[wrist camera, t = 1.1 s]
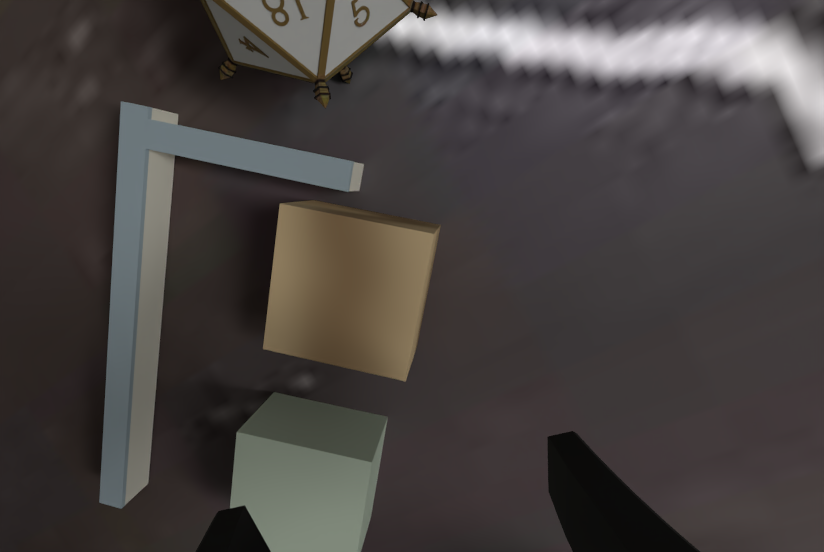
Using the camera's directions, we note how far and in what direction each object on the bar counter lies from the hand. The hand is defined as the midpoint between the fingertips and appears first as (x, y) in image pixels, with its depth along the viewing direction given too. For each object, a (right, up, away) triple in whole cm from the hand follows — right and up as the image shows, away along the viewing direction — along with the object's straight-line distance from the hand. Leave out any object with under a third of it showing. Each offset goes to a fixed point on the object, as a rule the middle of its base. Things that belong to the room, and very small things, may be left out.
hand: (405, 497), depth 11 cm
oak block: (-2, +5, +11) cm, 12 cm away
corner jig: (-9, +2, +12) cm, 15 cm away
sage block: (-4, -4, +13) cm, 14 cm away
